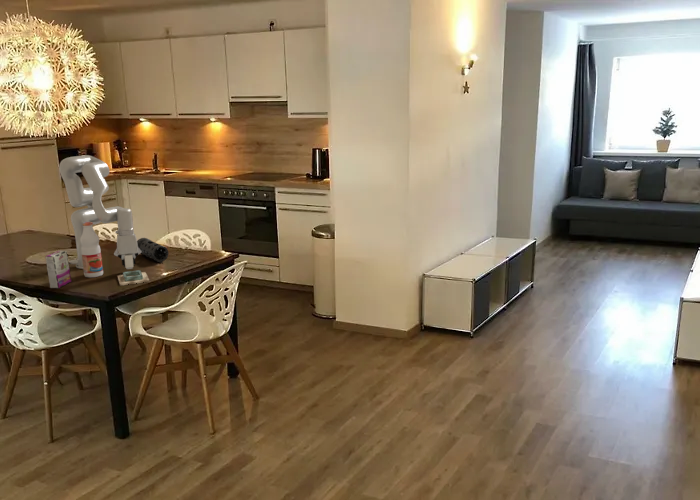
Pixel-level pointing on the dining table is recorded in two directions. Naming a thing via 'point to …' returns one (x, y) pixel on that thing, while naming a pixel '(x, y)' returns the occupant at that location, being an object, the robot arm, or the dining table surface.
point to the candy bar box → (58, 269)
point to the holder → (132, 277)
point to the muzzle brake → (153, 250)
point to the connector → (128, 261)
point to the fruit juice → (91, 252)
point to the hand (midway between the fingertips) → (129, 265)
